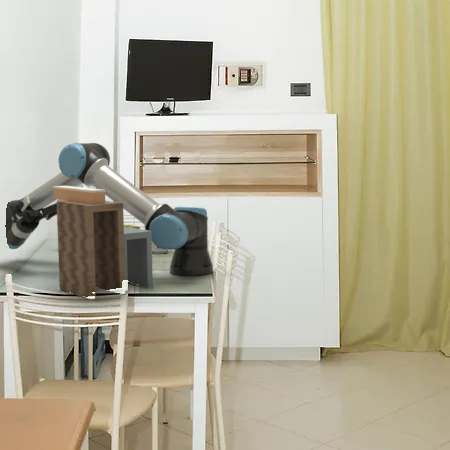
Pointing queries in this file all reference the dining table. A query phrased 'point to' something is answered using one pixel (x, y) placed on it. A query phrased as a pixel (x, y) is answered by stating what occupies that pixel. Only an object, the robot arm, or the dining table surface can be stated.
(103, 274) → the walnut stand
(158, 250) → the travel mug
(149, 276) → the grey bench
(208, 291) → the dining table surface
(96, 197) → the slim box
